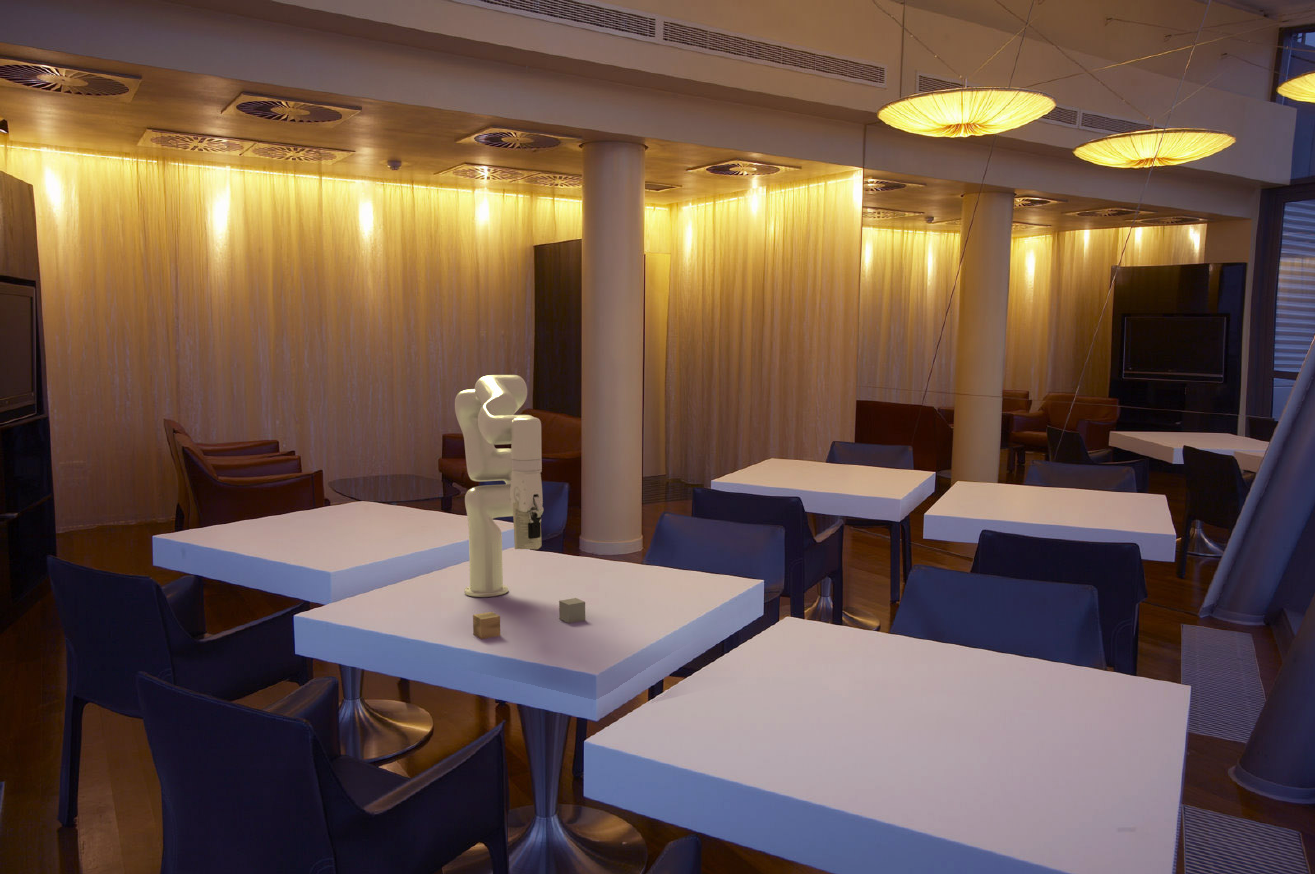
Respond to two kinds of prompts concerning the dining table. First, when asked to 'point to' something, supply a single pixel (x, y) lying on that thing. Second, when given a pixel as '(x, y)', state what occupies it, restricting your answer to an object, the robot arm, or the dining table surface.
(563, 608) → the grayish brown block
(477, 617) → the walnut block
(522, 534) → the skincare box
